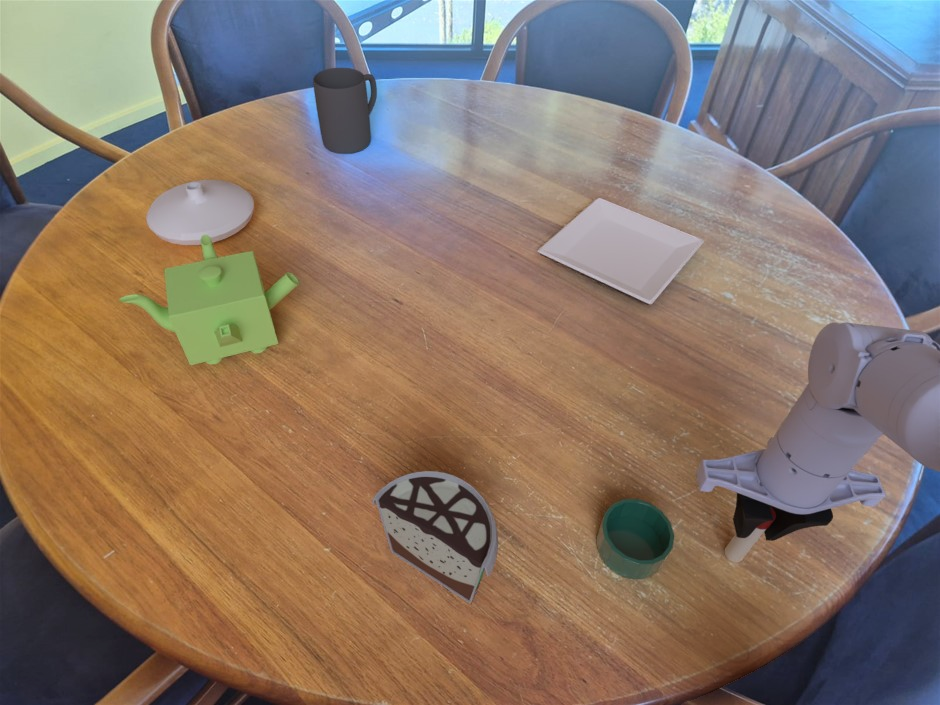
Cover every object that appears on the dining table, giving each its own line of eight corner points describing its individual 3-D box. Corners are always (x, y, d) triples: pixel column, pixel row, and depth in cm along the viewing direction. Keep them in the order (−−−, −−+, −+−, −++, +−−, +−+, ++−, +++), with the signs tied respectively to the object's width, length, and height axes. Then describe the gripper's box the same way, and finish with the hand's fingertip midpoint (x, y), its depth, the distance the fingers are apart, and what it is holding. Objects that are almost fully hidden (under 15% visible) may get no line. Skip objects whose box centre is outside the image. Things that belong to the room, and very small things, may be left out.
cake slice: (516, 559, 61) (526, 509, 54) (484, 613, 57) (489, 566, 50) (415, 498, 65) (411, 444, 58) (379, 544, 62) (369, 492, 54)
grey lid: (136, 221, 98) (119, 181, 92) (230, 187, 105) (219, 148, 100) (178, 270, 90) (162, 230, 84) (276, 230, 97) (267, 190, 92)
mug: (348, 160, 112) (340, 94, 103) (312, 144, 115) (300, 79, 106) (396, 131, 120) (392, 67, 111) (361, 117, 123) (354, 54, 114)
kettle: (147, 358, 78) (112, 291, 70) (218, 290, 87) (194, 223, 79) (248, 394, 74) (224, 327, 66) (311, 319, 84) (296, 252, 75)
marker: (747, 558, 62) (780, 517, 56) (732, 566, 61) (764, 525, 55) (734, 542, 63) (765, 499, 57) (719, 549, 62) (749, 507, 56)
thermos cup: (678, 562, 61) (688, 546, 59) (621, 591, 59) (629, 575, 57) (638, 506, 65) (646, 489, 63) (583, 530, 63) (589, 514, 61)
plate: (535, 261, 93) (536, 250, 92) (596, 206, 104) (598, 195, 102) (647, 314, 86) (651, 303, 84) (701, 250, 96) (705, 239, 95)
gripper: (891, 413, 51) (819, 498, 60) (712, 398, 51) (669, 485, 61) (927, 489, 46) (842, 568, 56) (728, 471, 46) (679, 552, 56)
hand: (752, 529), depth 58 cm, fingers closed
